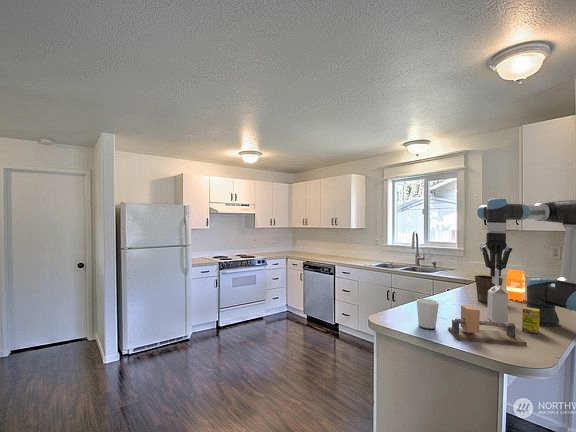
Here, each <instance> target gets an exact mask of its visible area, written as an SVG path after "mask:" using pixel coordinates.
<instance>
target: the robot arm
mask: <svg viewBox="0 0 576 432" xmlns="http://www.w3.org/2000/svg"><path fill="white" fill-rule="evenodd" d="M477 216H478V218H479V219H480V220H486V232H487V233H486V238H485V239H486V242H485V244H484V245H483V246H480V247H479V248H480V250H481V252H482V256H483V260H484V264H485V267H486V268H488V269H490V275H489V276H492V283H494V284H499V277H500V278H502V277H501V276H502V271H503V269H506V268H507V264H508V261H509V257H510V254H511V253H512V251H513V248H512V247H509V246H508V243H507V233H506V232H507V221H523V220H535V221H538V222H549V223H556V224H557V223H559V224H562V227H563V228H564V229H565V235H564V243H563V244H564V245H563V252H562V253H563V254H562V261H561V269H560V277H558V278H556V279H554V278H547V277H546V278H545V277H542V278H541V277H540V278H539V277H532V278H529V279H527V284H526V306H525V307H529V308H534V309H540V323H539V326H546V327H559V326H560V319H559V316H558V313H557V311H556V307H558V308H561V309H565V310H568V311H573V312H576V199H573V200H572V199H571V200H555V201H549V202H538V203H535V204H522V203H508V202H507V199H506V198H490V199H488V200H487V202H486V204H484V205H480V206H479V207H478V209H477ZM488 251H489V253H488ZM503 251H504V252H503Z"/></svg>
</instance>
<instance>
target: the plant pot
mask: <svg viewBox="0 0 576 432" xmlns="http://www.w3.org/2000/svg"><path fill="white" fill-rule="evenodd" d="M473 276H474V277H473V278H474V282H475V285H476V297H477V301H478V302H482V303H484V304H488V290H490V289H491V288H492V287H494V286H495V284H494V283H492V276H491V275H486V274H485V275H484V274H483V275H481V274H479V275H477V274H476V275H473ZM503 281H504V278H502V277H499V284H497V285H499V286H501V287H502V285H503Z"/></svg>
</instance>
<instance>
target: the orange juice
mask: <svg viewBox="0 0 576 432" xmlns="http://www.w3.org/2000/svg"><path fill="white" fill-rule="evenodd" d="M506 293H507V294H508V300H510V299H513V300H512V301H515V300H519V301H518V302H521V301H522V302H524V301H526V300H525V299H526V277H525V271H523V270H514V269H508V270H507V276H506ZM523 300H524V301H523Z"/></svg>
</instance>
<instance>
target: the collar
mask: <svg viewBox="0 0 576 432" xmlns="http://www.w3.org/2000/svg"><path fill="white" fill-rule="evenodd" d="M480 311H481V310H480V309H478V308H477V307H475V306H473V305H467V304H466V305H463V304H460V319H465V324H460V328H463V329H464V330H465V331H466V332H473V333H479V330H480V325H479V322H480V320H481V318H480V314H481V312H480Z"/></svg>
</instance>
